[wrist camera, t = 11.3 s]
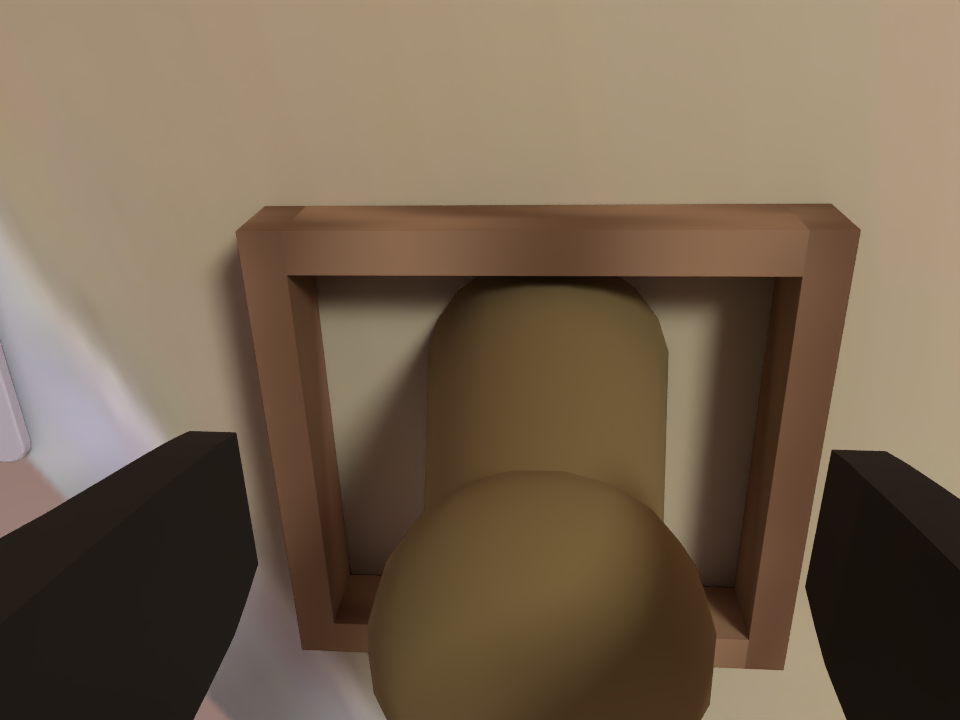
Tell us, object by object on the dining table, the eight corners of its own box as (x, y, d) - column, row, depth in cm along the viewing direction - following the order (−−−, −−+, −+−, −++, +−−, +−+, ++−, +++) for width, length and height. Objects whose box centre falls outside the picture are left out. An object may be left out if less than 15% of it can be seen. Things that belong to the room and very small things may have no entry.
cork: (642, 485, 22) (710, 905, 12) (419, 453, 22) (309, 843, 13) (693, 273, 20) (830, 593, 10) (439, 239, 20) (319, 519, 10)
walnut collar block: (320, 599, 25) (302, 649, 23) (264, 206, 20) (235, 231, 18) (766, 616, 24) (783, 670, 22) (831, 203, 19) (861, 229, 17)
